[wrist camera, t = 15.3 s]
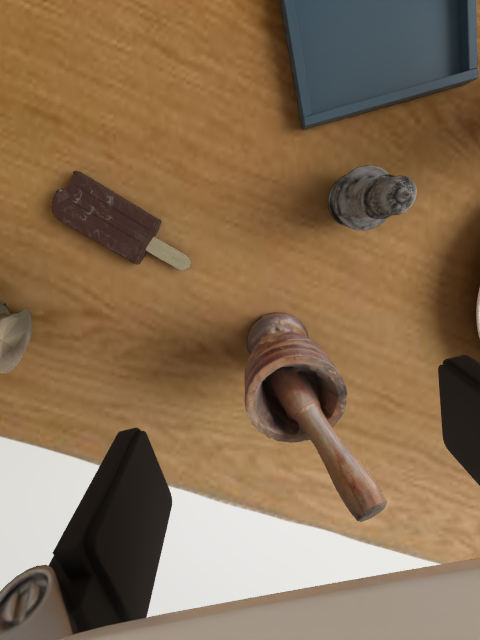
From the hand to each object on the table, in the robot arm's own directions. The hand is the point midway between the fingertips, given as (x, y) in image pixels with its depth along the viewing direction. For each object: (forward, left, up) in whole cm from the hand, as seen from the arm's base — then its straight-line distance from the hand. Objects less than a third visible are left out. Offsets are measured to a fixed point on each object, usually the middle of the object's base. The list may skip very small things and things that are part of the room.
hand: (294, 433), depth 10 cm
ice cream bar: (-8, -12, -28) cm, 32 cm away
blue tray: (-19, +16, -28) cm, 38 cm away
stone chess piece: (-5, +12, -28) cm, 31 cm away
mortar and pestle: (+10, +2, -28) cm, 30 cm away
